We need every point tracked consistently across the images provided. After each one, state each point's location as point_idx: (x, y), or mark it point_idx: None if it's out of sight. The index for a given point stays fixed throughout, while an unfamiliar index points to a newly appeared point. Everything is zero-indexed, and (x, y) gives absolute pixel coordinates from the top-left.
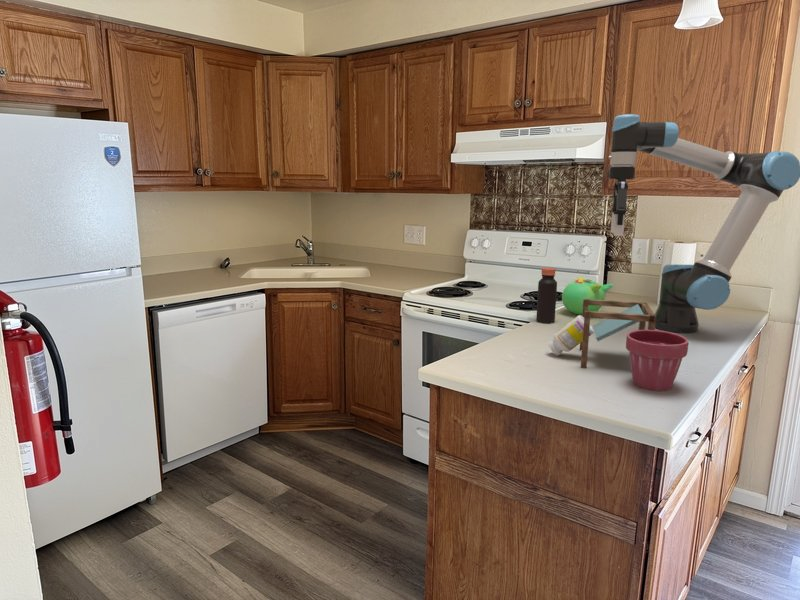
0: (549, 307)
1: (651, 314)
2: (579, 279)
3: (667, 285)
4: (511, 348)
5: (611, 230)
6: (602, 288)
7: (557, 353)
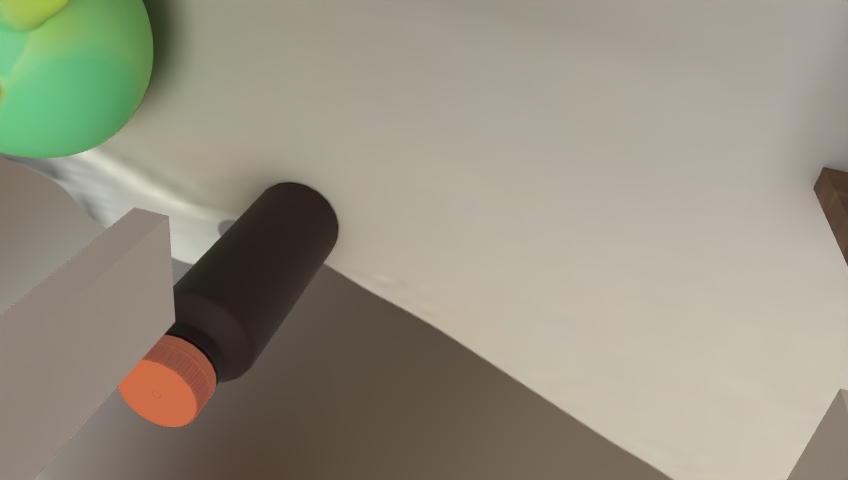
0: (307, 258)
1: None
2: None
3: None
4: (781, 441)
5: (161, 333)
6: None
7: None
